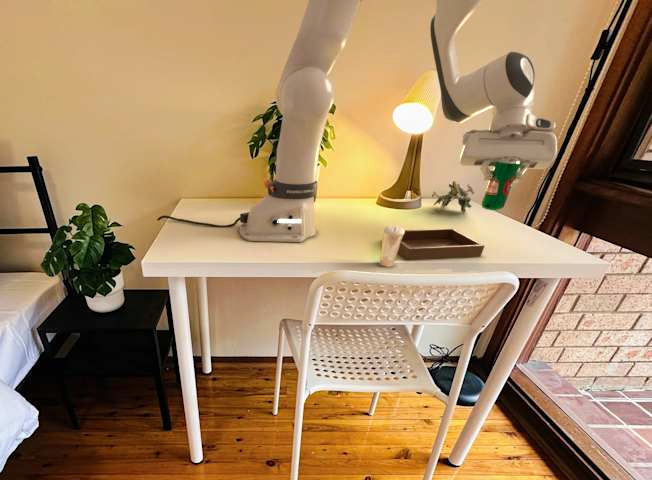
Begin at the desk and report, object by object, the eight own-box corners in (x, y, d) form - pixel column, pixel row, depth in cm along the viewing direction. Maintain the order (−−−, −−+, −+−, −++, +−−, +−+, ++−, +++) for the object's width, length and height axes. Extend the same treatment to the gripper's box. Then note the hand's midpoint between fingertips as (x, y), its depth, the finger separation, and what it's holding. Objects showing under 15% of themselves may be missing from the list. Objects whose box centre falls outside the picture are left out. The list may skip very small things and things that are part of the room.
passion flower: (456, 228, 128) (483, 204, 117) (427, 222, 127) (451, 198, 116) (452, 202, 132) (478, 177, 121) (424, 196, 131) (447, 170, 120)
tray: (406, 260, 91) (409, 249, 89) (382, 241, 102) (385, 231, 101) (480, 256, 93) (485, 245, 91) (449, 238, 104) (452, 228, 102)
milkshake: (375, 267, 87) (384, 225, 82) (376, 259, 92) (386, 218, 86) (395, 270, 86) (406, 227, 80) (396, 262, 90) (406, 220, 84)
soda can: (476, 205, 98) (494, 155, 92) (495, 205, 98) (515, 155, 91) (486, 210, 94) (505, 159, 87) (506, 211, 94) (527, 159, 87)
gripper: (468, 120, 94) (460, 169, 92) (563, 122, 88) (557, 174, 86) (459, 138, 100) (452, 185, 98) (548, 141, 94) (542, 190, 92)
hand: (502, 180), depth 92 cm, fingers closed on soda can, 5 cm apart
